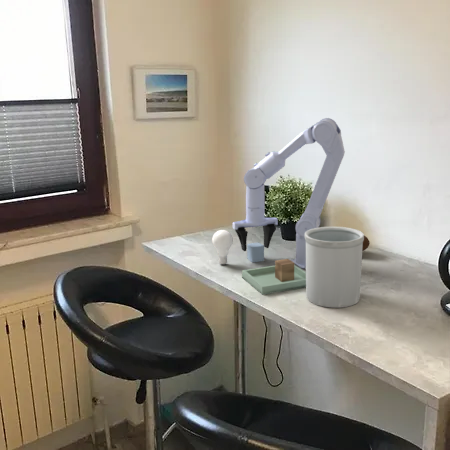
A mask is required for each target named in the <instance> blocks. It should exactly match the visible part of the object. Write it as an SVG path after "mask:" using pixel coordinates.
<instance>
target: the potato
mask: <svg viewBox="0 0 450 450" xmlns="http://www.w3.org/2000/svg"><path fill="white" fill-rule="evenodd" d="M370 243H371V242H370V240H369V238H368V237H367V236H366V235H364V241H363V248H362V252H364V251H366V250H367V249H369V247H370Z"/></svg>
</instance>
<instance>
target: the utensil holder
mask: <svg viewBox="0 0 450 450" xmlns="http://www.w3.org/2000/svg"><path fill="white" fill-rule="evenodd" d="M364 236H365V234H364V232H362V231H361V230H359V229H355V228H352V227H348V226H347V227H345V226H321V227H320V226H319V227H318V228H314V229H310V230H308V231H306V232H305V240H306V268H305V272H306V287H305V288H306V289H305V291H306V299H307V300H308V301H309V302H310V303H312V304H314V305H317V306H320V307H324V308H332V309H333V308H335V309H337V308H339V309H340V308H347V307H351V306H354V305H355V304H357V303H358V302H360V298H361V296H360V295H361V285H362V267H363V266H362V264H363V263H362V261H363V251H362V248H363V241H364Z"/></svg>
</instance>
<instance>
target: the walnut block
mask: <svg viewBox="0 0 450 450" xmlns="http://www.w3.org/2000/svg"><path fill="white" fill-rule="evenodd" d="M291 260H292V259H289V258H284V259H283V258H282V259H277V260H274V266H275V278H277V279H278V280H280V281H281V282H284V281H290V280H294V265H295V264H294V262H292V261H291Z"/></svg>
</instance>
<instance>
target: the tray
mask: <svg viewBox="0 0 450 450" xmlns="http://www.w3.org/2000/svg"><path fill="white" fill-rule="evenodd" d="M241 278H242V279H243V280H244V281H245V282H247V283H248V284H249V285H250V286H251V287H253V288H254V289H255V290H256V292H258V293H259V294H261V295H268V294H276V293H280V292H286V291H292V290H297V289H305V288H306V270H304V269H302V268H300V267H299V266H297V265H296V264H294V280H290V281H284V282H281V281H280V280H278V279H277V278H275V265H268V266H263V267H257V268H249V269H243V270H242V269H241Z"/></svg>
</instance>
